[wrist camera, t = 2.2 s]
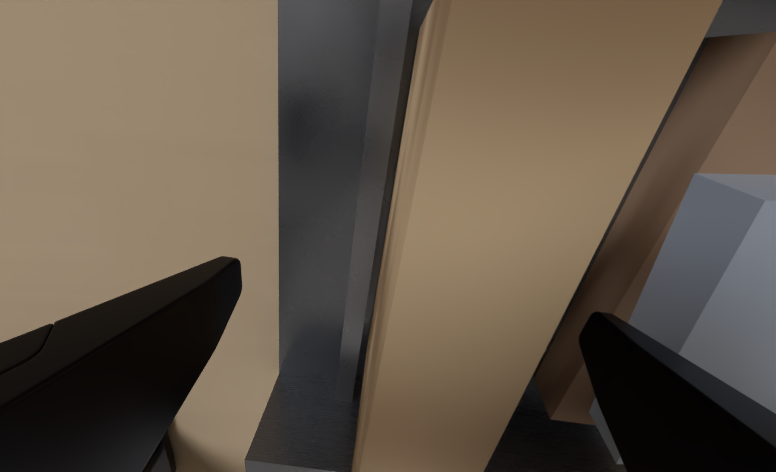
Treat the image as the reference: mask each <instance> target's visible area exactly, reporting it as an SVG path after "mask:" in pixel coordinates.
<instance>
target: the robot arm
mask: <svg viewBox="0 0 776 472" xmlns="http://www.w3.org/2000/svg"><path fill="white" fill-rule="evenodd" d="M241 290H242V277H241V264H240V261H239V260H238V259H237V258H232V257H225V256H221V257H218V258H216V259H213V260H211V261H208V262H206V263H203V264H201V265H198V266H195V267H193V268H190V269H188V270H185V271H183V272H180V273H178V274H175V275H173V276H170V277H168V278H165V279H162V280H160V281H157V282H155V283H152V284H150V285H147V286H145V287H142V288H140V289H137V290H135V291H132V292H129V293H127V294H124V295H122V296H119V297H117V298H114V299H112V300H109V301H107V302H104V303H102V304H99V305H96V306H94V307H91V308H89V309H86V310H84V311H81V312H79V313H76V314H74V315H71V316H69V317H66V318H63V319H61V320H58V321H56V322H55V323H54V325H53V324H48V325H45V326H43V327H40V328H38V329H35V330H33V331H30V332H28V333H25V334H23V335H20V336H17V337H15V338H12V339H10V340H7V341H4V342H2V343H0V472H176V466H175V462H174V458H173V454H172V450H171V447H170V443H169V439H168V435H167V429H168V427H169V426H170V424H171V422H172V421H173V419H174V417H175V416H176V414H177V412H178V411H179V409H180V407H181V406H182V404H183V402H184V401H185V399H186V397H187V396H188V394H189V392H190V391H191V389H192V387H193V386H194V384H195V382H196V381H197V379H198V377H199V376H200V374H201V372H202V371H203V369H204V367H205V366H206V364H207V362H208V361H209V359H210V357H211V356H212V354H213V352H214V350H215V349H216V347H217V345H218V343H219V340H220V338H221V336H222V334H223V332H224V330H225V327H226V325H227V323H228V321H229V319H230V316H231V314H232V312H233V310H234V308H235V305H236V303H237V301H238V299H239V297H240V294H241ZM579 346H580V349H581V352H582V356H583V359H584V362H585V365H586V368H587V372H588V375H589V378H590V381H591V384H592V387H593V391H594V394H595V396H596V399H597V402H598V405H599V407H600V410H601V412H602V414H603V417H604V419H605V421H606V424H607V426H608V429H609V431H610V433H611V436H612V438H613V440H614V443H615V445H616V447H617V450H618V452H619V454H620V457H621V459H622V462H623V464H624V466H625V469H626V471H627V472H776V413H774V412H772V411H771V410H769V409H767V408H766V407H764V406H762V405H761V404H759V403H758V402H756V401H754V400H753V399H751V398H749V397H748V396H746V395H744V394H743V393H741V392H740V391H738V390H736V389H735V388H733V387H731V386H730V385H728V384H726V383H725V382H723V381H722V380H720V379H718V378H717V377H715V376H713V375H712V374H710V373H708V372H707V371H705V370H704V369H702V368H700V367H699V366H697V365H695V364H694V363H692V362H690V361H689V360H687V359H686V358H684V357H682V356H681V355H679V354H677V353H676V352H674V351H672V350H671V349H669V348H668V347H666V346H664V345H663V344H661V343H659V342H658V341H656V340H654V339H653V338H651V337H650V336H648V335H646V334H645V333H643V332H641V331H640V330H638V329H636V328H635V327H633V326H632V325H630V324H628V323H627V322H625V321H623V320H622V319H620V318H618V317H617V316H615V315H613V314H611V313H606V312H599V311H595V312H593V313H592V314H591V315H590V316H589V318H588V320H587V321H586V323H585V325H584V327H583V329H582V330H581V332H580V334H579Z"/></svg>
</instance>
